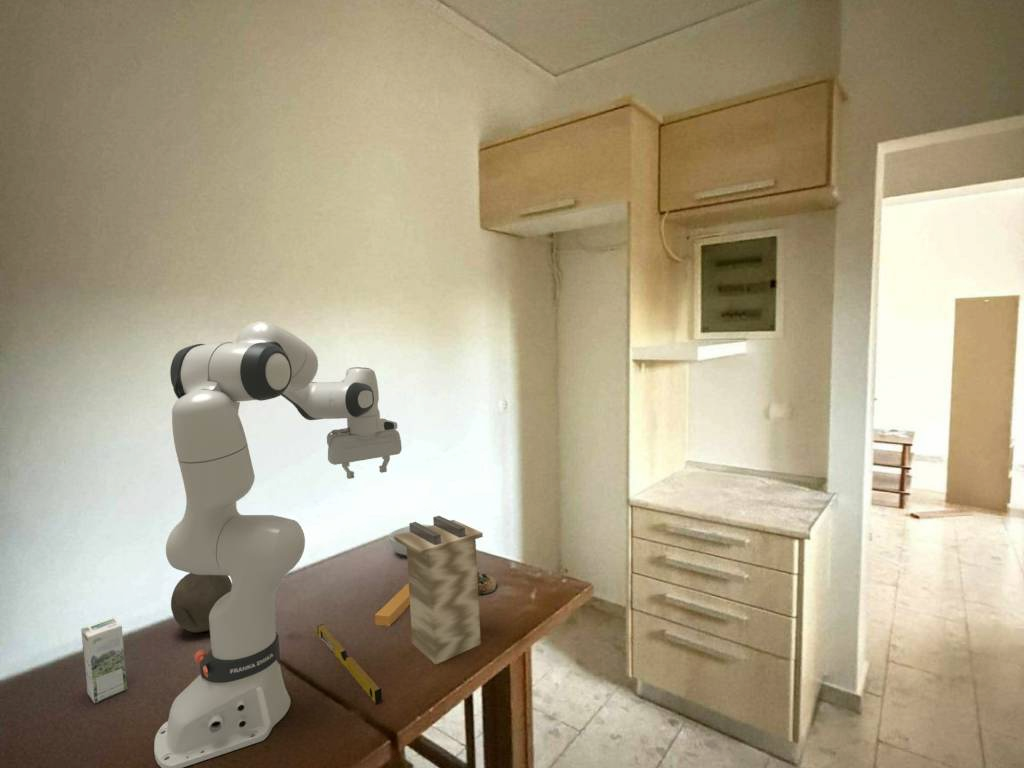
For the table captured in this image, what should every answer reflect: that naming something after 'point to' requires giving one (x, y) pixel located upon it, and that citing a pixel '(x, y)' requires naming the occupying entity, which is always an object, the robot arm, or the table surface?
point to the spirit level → (352, 665)
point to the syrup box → (104, 659)
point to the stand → (443, 587)
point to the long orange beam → (394, 607)
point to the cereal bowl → (396, 545)
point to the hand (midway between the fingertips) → (367, 475)
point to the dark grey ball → (197, 599)
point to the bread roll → (485, 583)
